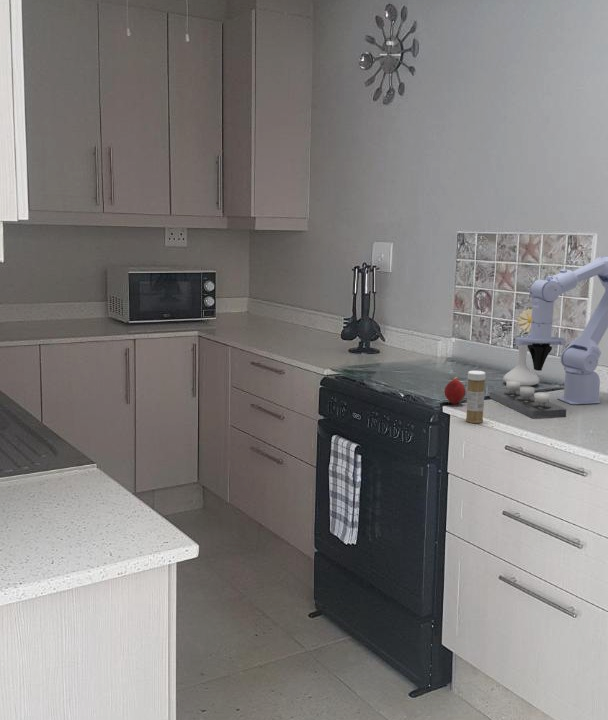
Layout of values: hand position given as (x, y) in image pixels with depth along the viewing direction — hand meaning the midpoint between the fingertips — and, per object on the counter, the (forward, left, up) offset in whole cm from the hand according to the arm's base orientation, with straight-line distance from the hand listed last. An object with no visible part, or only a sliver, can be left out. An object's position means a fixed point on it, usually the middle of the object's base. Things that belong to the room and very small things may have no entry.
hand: (537, 370), depth 237 cm
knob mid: (+3, +1, -8) cm, 9 cm away
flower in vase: (-11, -26, -11) cm, 30 cm away
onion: (+22, -6, -11) cm, 26 cm away
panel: (+3, +1, -10) cm, 11 cm away
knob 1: (+3, -7, -8) cm, 11 cm away
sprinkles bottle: (+25, +13, -11) cm, 30 cm away
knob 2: (+3, +9, -8) cm, 13 cm away
